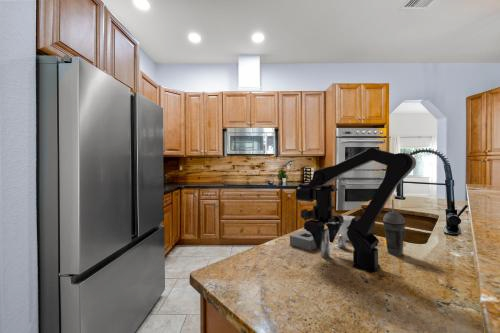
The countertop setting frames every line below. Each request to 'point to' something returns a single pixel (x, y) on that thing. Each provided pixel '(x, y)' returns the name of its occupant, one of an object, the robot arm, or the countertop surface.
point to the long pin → (325, 245)
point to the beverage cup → (394, 231)
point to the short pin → (341, 241)
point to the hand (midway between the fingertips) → (325, 245)
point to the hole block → (303, 240)
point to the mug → (345, 226)
